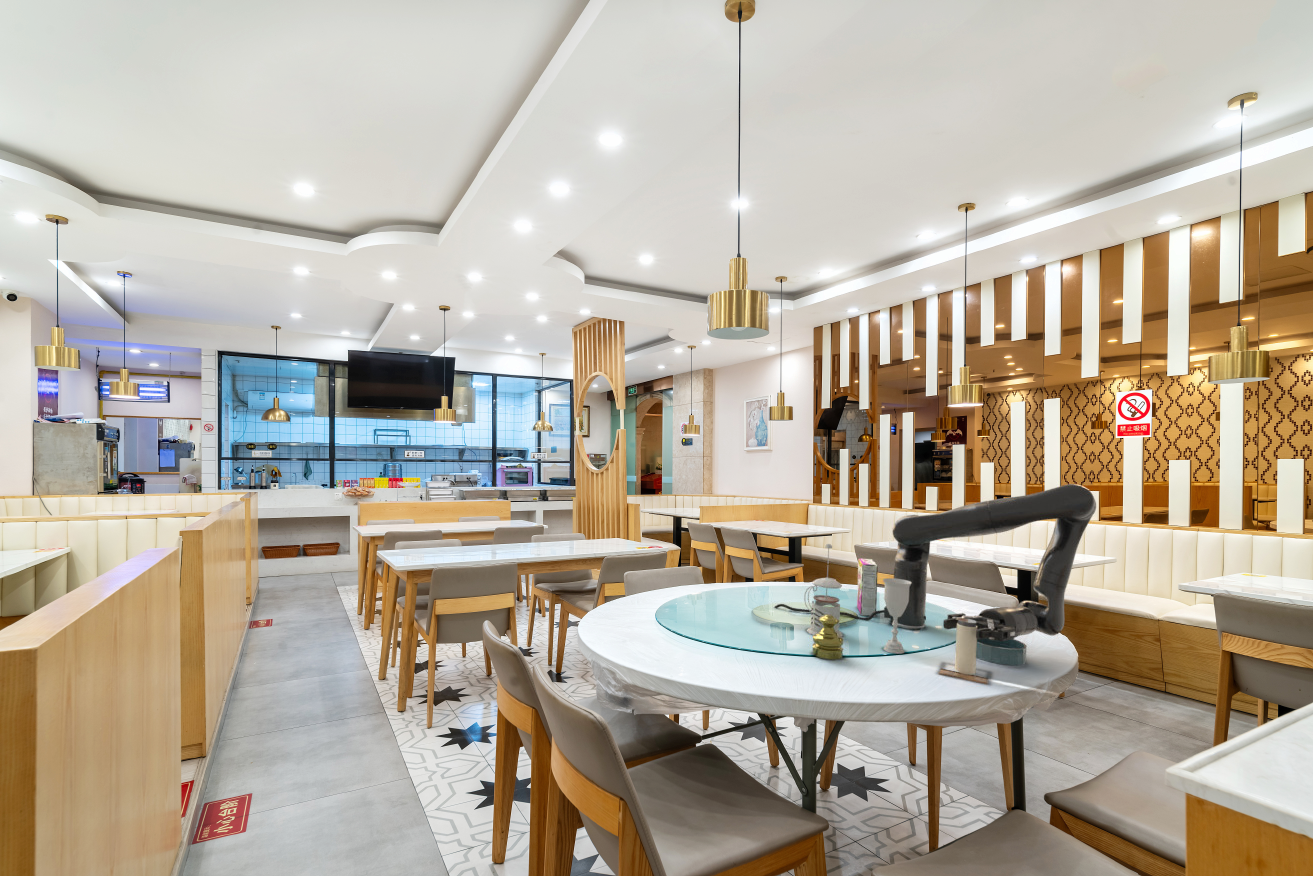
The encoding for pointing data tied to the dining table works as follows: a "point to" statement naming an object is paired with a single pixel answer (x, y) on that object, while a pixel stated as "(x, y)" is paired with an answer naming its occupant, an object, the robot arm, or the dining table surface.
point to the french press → (824, 603)
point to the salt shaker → (828, 640)
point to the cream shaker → (966, 646)
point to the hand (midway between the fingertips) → (960, 629)
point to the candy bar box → (867, 587)
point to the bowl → (1001, 651)
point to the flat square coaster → (963, 676)
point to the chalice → (896, 608)
